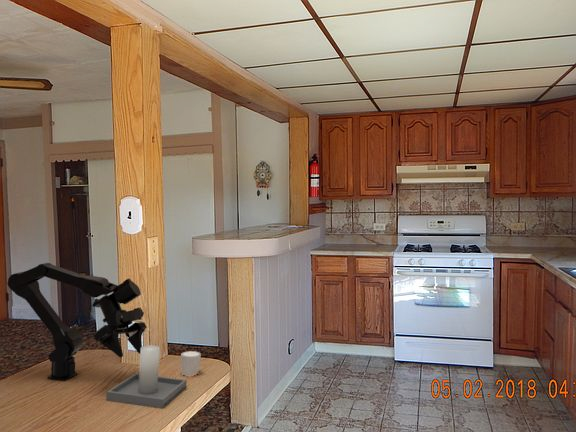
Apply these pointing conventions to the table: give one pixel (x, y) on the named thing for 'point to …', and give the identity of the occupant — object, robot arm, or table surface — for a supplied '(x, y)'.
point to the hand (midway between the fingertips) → (131, 354)
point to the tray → (159, 399)
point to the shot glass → (190, 362)
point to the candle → (148, 369)
